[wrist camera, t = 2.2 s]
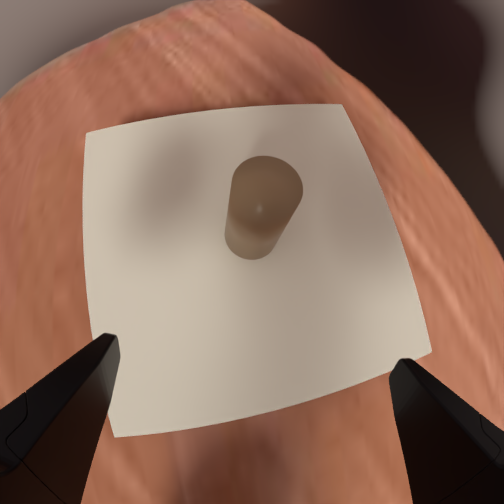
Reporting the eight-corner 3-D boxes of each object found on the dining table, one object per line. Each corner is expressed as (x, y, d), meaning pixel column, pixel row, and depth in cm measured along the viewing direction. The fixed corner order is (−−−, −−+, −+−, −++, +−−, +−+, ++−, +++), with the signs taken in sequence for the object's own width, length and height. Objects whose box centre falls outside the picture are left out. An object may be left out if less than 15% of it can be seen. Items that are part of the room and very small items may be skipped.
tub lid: (123, 429, 17) (75, 468, 9) (93, 149, 22) (62, 77, 15) (414, 353, 20) (493, 344, 13) (333, 119, 26) (367, 53, 19)
